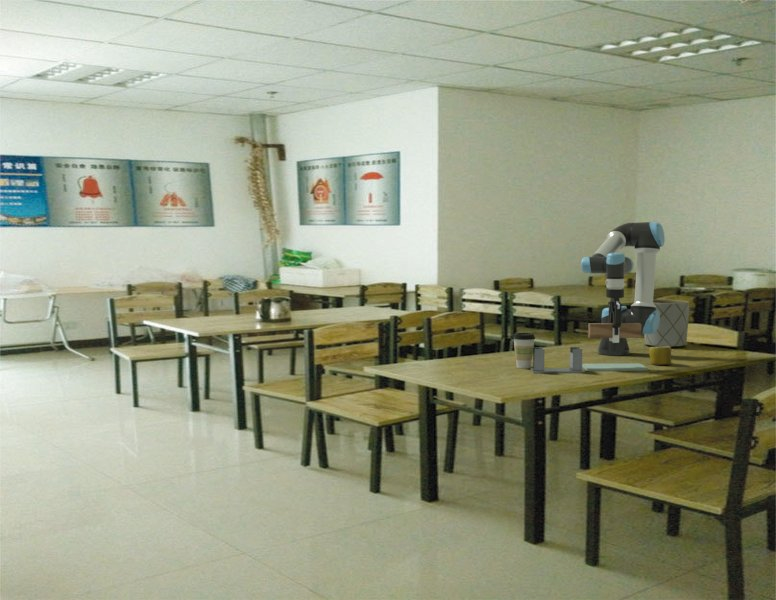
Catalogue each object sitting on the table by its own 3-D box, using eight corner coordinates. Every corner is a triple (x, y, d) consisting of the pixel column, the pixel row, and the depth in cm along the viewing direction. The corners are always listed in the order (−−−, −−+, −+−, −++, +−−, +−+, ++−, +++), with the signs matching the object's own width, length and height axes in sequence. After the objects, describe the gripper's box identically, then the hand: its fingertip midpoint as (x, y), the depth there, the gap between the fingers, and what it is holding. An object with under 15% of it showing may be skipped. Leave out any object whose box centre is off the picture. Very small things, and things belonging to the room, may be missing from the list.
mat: (581, 365, 338) (581, 363, 338) (640, 365, 337) (640, 363, 337) (587, 370, 326) (587, 368, 326) (648, 370, 325) (648, 368, 325)
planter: (665, 350, 380) (666, 304, 378) (633, 344, 401) (633, 300, 399) (698, 347, 390) (699, 301, 388) (665, 341, 410) (666, 298, 408)
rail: (587, 336, 333) (588, 323, 332) (638, 336, 332) (638, 323, 331) (590, 338, 329) (590, 324, 328) (641, 337, 328) (641, 324, 327)
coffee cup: (523, 370, 330) (523, 336, 328) (508, 366, 338) (508, 333, 337) (539, 367, 335) (539, 334, 334) (524, 364, 343) (524, 332, 342)
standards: (530, 369, 330) (530, 347, 330) (581, 369, 329) (581, 346, 329) (532, 373, 322) (533, 349, 322) (584, 372, 321) (585, 349, 321)
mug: (677, 362, 333) (669, 341, 335) (654, 369, 335) (646, 347, 337) (674, 363, 345) (667, 342, 346) (651, 369, 347) (644, 349, 349)
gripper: (601, 287, 337) (601, 339, 339) (611, 289, 320) (610, 344, 322) (618, 287, 337) (617, 339, 339) (629, 289, 320) (628, 344, 322)
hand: (614, 341), depth 331 cm, fingers closed on rail, 4 cm apart
